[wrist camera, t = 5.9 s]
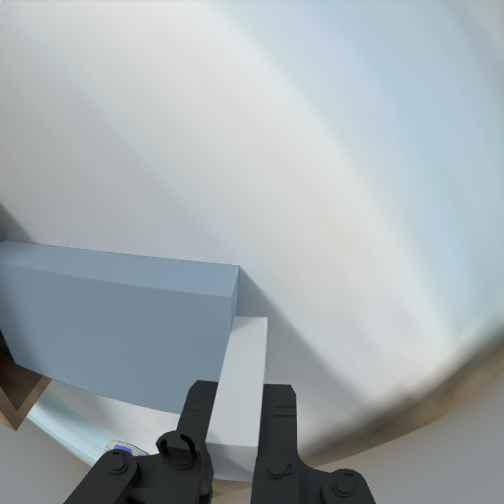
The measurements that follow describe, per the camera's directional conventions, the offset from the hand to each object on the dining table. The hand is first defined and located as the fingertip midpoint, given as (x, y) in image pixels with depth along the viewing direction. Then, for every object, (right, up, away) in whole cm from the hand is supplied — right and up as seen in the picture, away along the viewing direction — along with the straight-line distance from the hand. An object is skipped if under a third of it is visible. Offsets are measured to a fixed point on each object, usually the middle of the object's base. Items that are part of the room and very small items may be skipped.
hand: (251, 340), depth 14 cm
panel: (-8, +1, +2) cm, 9 cm away
